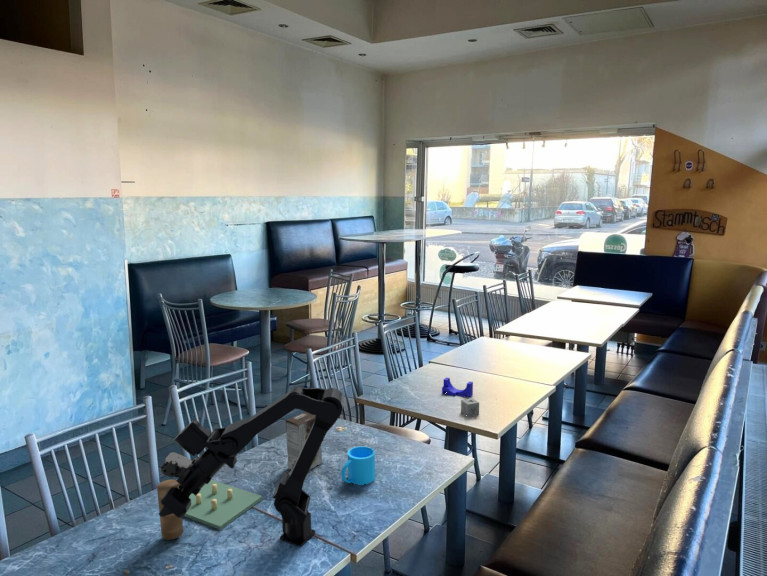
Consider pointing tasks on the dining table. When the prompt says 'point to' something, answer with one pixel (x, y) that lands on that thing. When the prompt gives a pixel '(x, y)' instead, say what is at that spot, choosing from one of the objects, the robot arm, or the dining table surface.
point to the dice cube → (470, 407)
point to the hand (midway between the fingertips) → (164, 509)
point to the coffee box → (299, 438)
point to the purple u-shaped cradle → (453, 391)
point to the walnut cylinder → (170, 523)
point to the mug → (360, 466)
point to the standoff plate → (220, 504)
